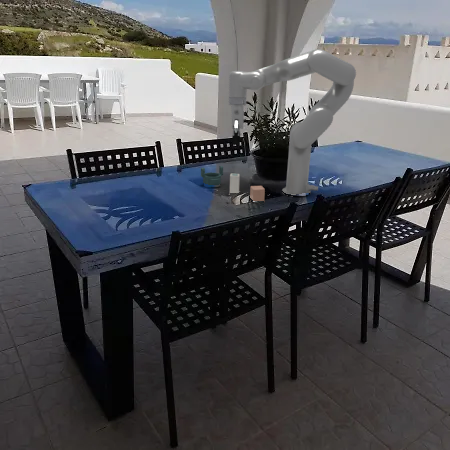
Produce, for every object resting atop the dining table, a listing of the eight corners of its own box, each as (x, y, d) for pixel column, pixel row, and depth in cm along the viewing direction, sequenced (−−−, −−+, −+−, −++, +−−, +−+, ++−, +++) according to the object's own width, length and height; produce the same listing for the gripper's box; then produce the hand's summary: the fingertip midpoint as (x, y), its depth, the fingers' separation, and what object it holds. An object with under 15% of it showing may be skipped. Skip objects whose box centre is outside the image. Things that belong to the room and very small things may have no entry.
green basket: (199, 186, 205) (199, 167, 202) (209, 181, 213) (209, 163, 209) (216, 189, 202) (216, 170, 198) (225, 184, 209) (225, 166, 206)
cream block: (238, 193, 197) (239, 173, 194) (238, 195, 193) (239, 175, 190) (230, 192, 197) (230, 173, 194) (229, 195, 194) (230, 175, 190)
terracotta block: (260, 198, 190) (261, 185, 188) (264, 202, 186) (264, 189, 183) (249, 199, 189) (250, 186, 187) (252, 203, 185) (253, 189, 183)
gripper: (245, 104, 179) (244, 147, 185) (246, 99, 195) (245, 139, 201) (227, 103, 179) (226, 146, 186) (229, 98, 195) (228, 138, 202)
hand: (236, 142), depth 194 cm, fingers open, 6 cm apart
